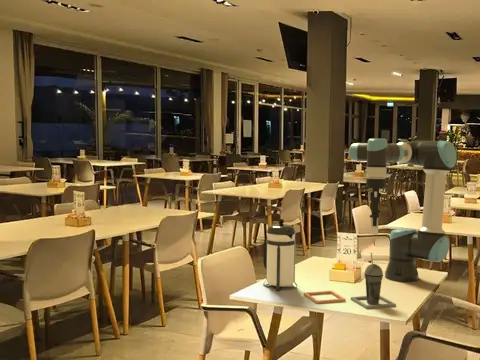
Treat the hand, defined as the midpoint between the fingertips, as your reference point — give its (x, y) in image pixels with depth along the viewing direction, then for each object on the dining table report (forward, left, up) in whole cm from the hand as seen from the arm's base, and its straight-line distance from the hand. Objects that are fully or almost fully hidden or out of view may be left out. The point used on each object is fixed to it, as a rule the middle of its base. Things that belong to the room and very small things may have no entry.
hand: (374, 231), depth 221 cm
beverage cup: (0, 0, -29) cm, 29 cm away
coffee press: (+28, -33, -29) cm, 52 cm away
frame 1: (+16, -11, -29) cm, 34 cm away
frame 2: (0, 0, -29) cm, 29 cm away
